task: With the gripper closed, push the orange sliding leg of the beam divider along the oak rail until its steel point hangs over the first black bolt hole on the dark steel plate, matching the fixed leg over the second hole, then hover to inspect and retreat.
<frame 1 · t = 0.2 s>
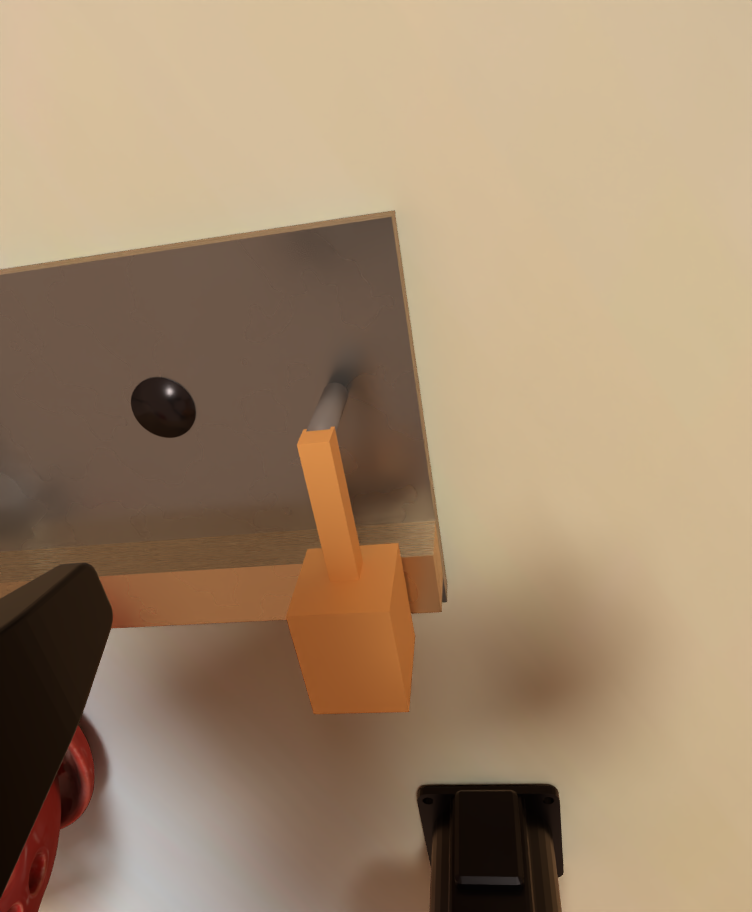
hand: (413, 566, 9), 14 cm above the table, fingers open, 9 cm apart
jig: (139, 451, 25), on the table
slide leg: (347, 546, 21), point 4 cm above the table, slide at 0.0 cm
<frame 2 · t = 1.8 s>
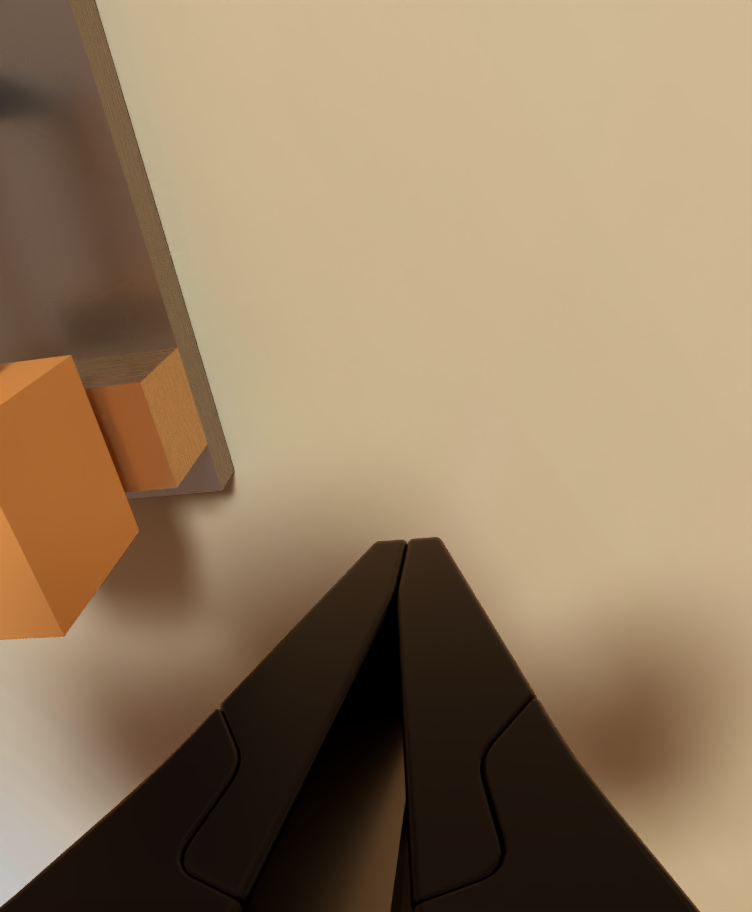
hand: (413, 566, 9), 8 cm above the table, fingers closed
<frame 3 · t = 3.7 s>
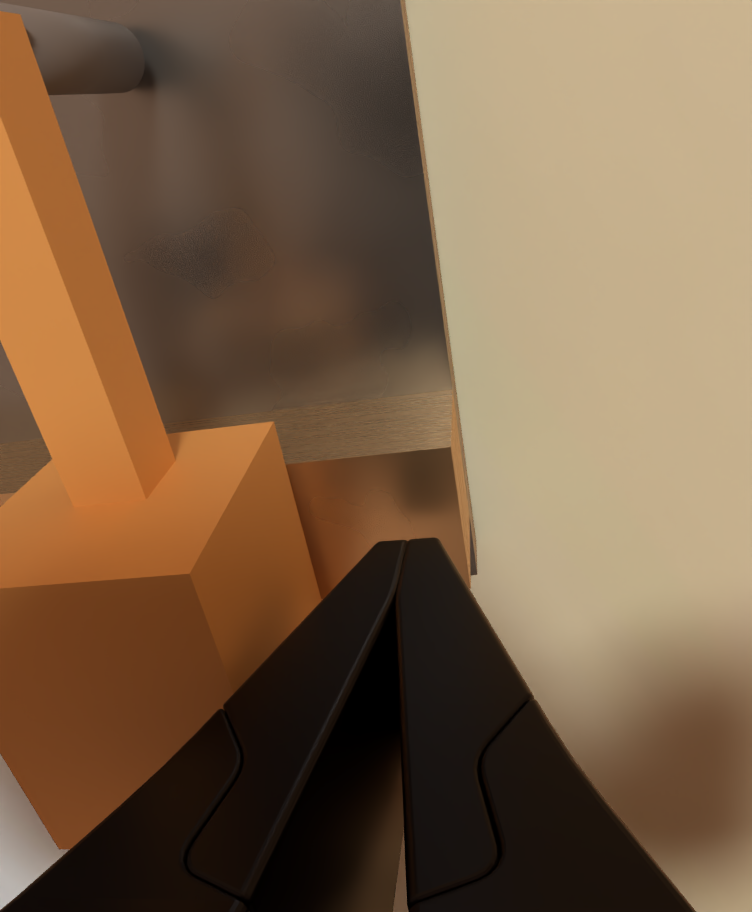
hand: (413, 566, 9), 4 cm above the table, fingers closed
slide leg: (136, 424, 9), point 4 cm above the table, slide at 1.2 cm, touching gripper
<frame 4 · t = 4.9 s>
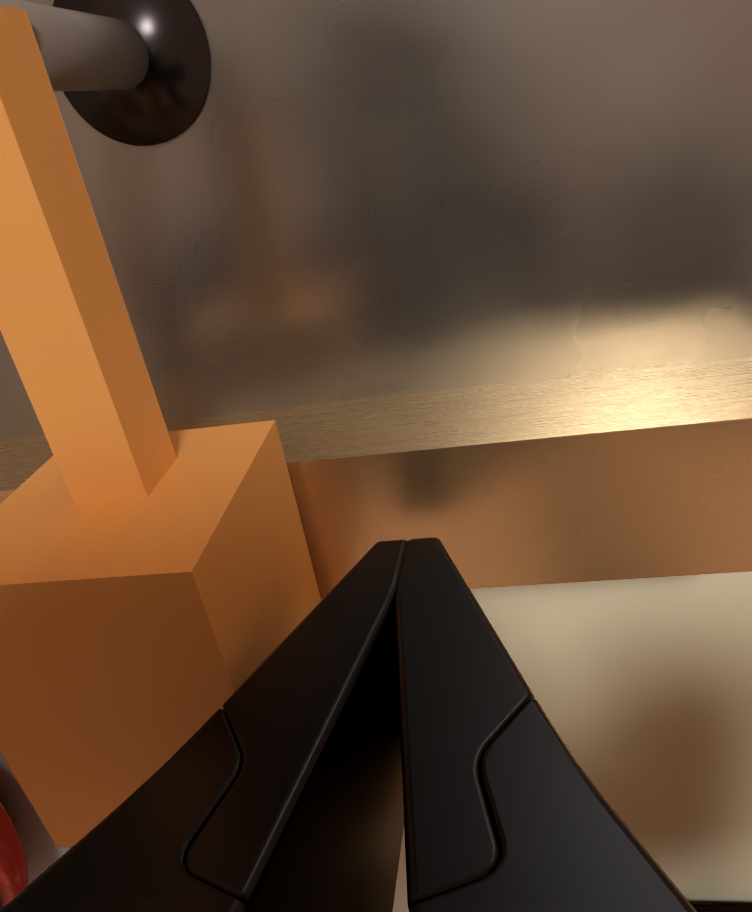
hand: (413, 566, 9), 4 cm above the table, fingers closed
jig: (83, 219, 11), on the table
slide leg: (137, 422, 9), point 4 cm above the table, slide at 6.0 cm, touching gripper
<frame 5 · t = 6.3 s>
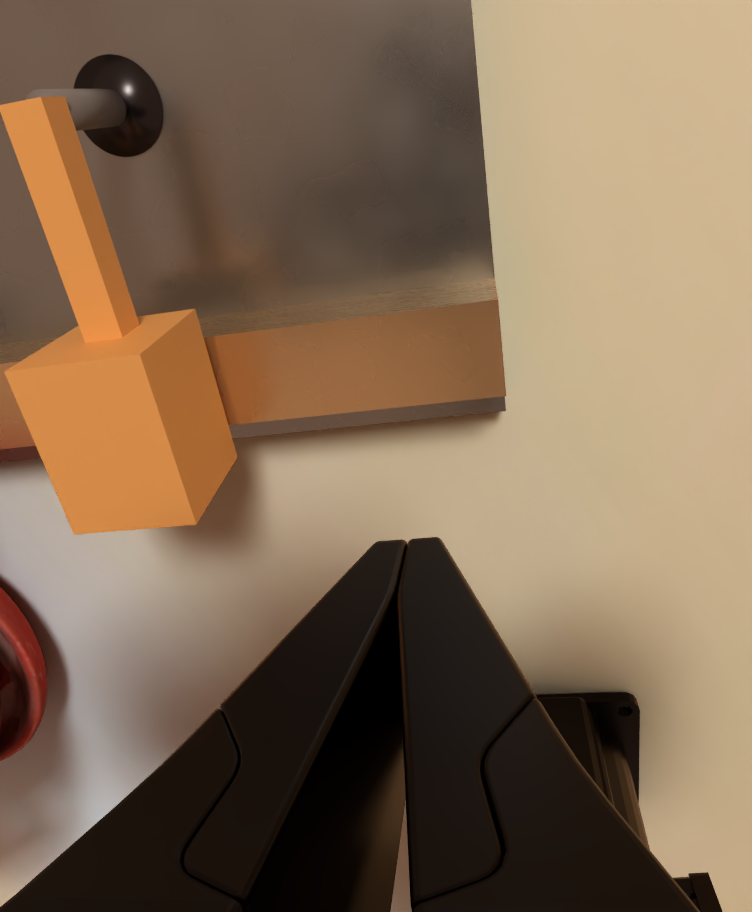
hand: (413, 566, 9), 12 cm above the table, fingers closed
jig: (91, 201, 19), on the table
slide leg: (118, 305, 16), point 4 cm above the table, slide at 6.0 cm
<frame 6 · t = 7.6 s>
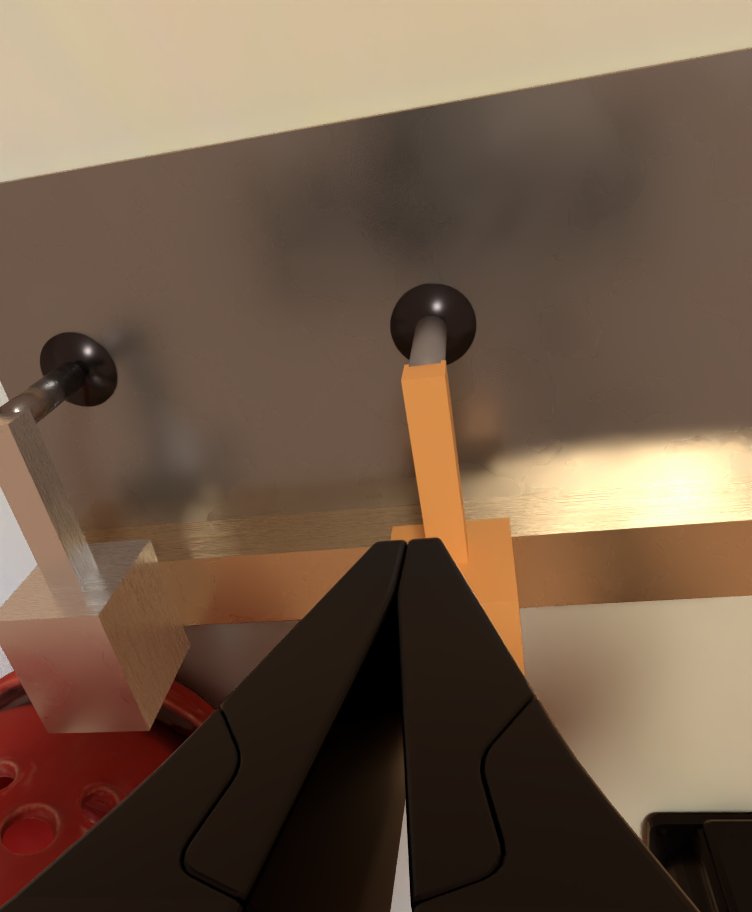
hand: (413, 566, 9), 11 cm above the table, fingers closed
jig: (373, 390, 20), on the table
slide leg: (447, 521, 17), point 4 cm above the table, slide at 6.0 cm
plant pot: (121, 732, 29), on the table
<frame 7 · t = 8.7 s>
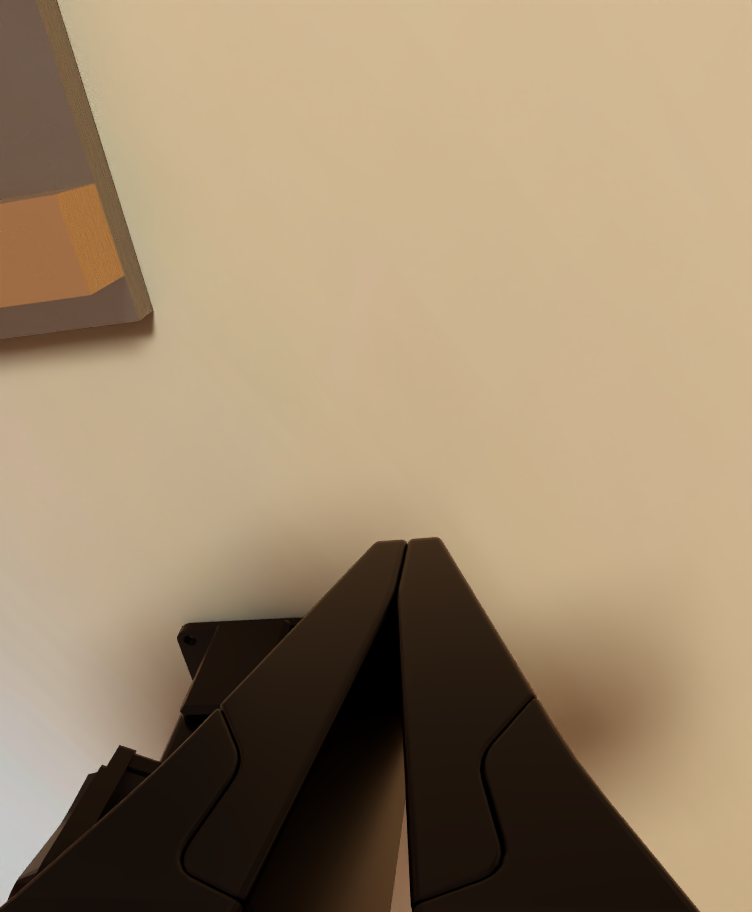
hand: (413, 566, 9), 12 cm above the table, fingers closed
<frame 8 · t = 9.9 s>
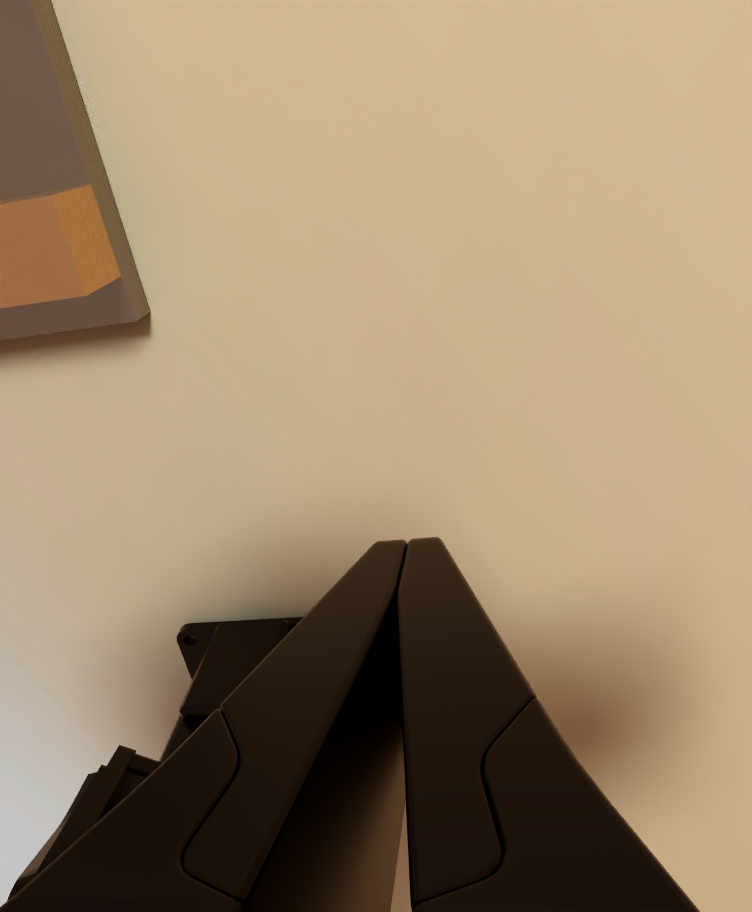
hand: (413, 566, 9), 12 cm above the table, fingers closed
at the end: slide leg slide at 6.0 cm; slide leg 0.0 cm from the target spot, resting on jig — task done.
